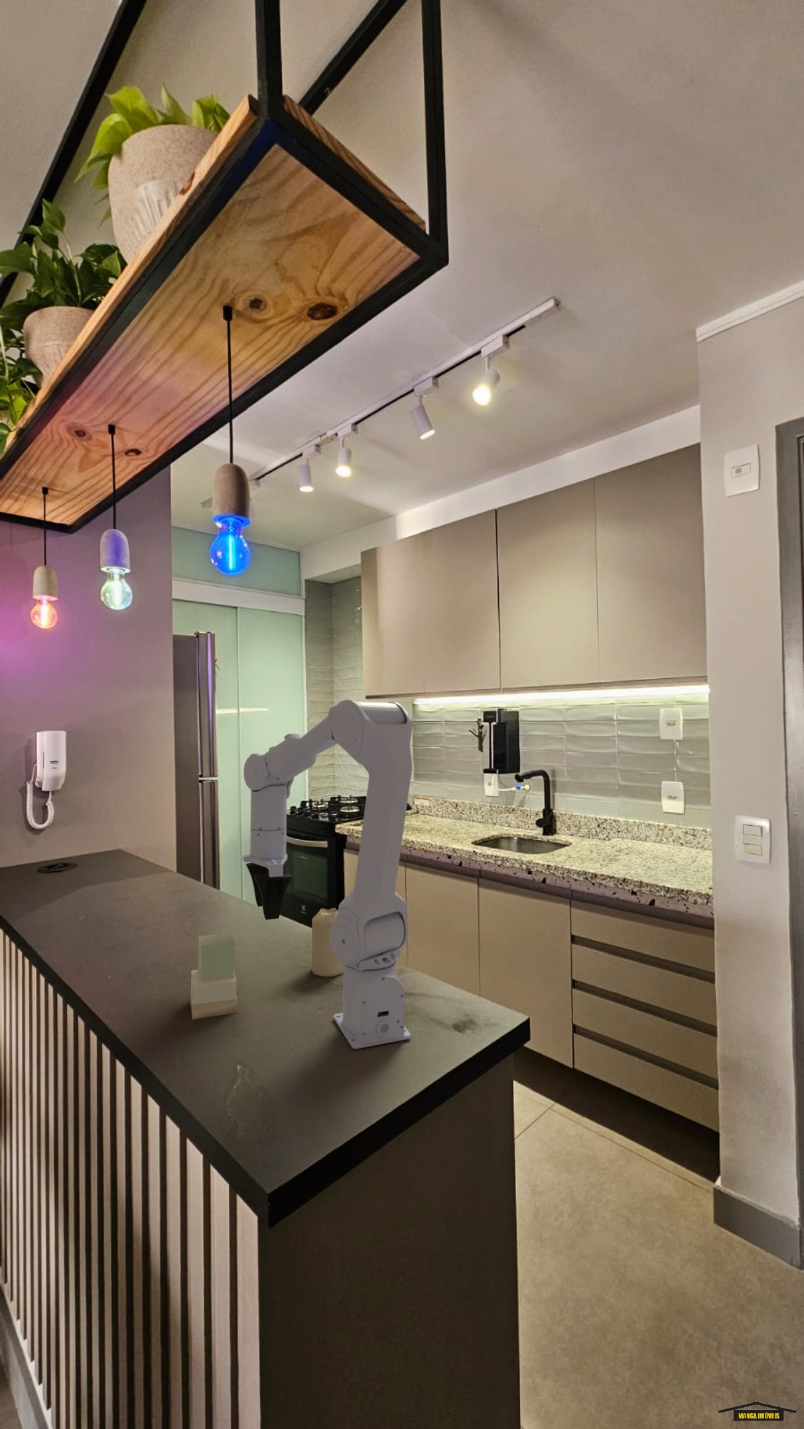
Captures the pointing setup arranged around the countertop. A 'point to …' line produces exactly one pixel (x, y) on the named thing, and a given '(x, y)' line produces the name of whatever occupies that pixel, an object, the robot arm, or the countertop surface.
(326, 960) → the candle
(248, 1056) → the countertop surface
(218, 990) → the tower top
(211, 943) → the sage block
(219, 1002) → the tower base
